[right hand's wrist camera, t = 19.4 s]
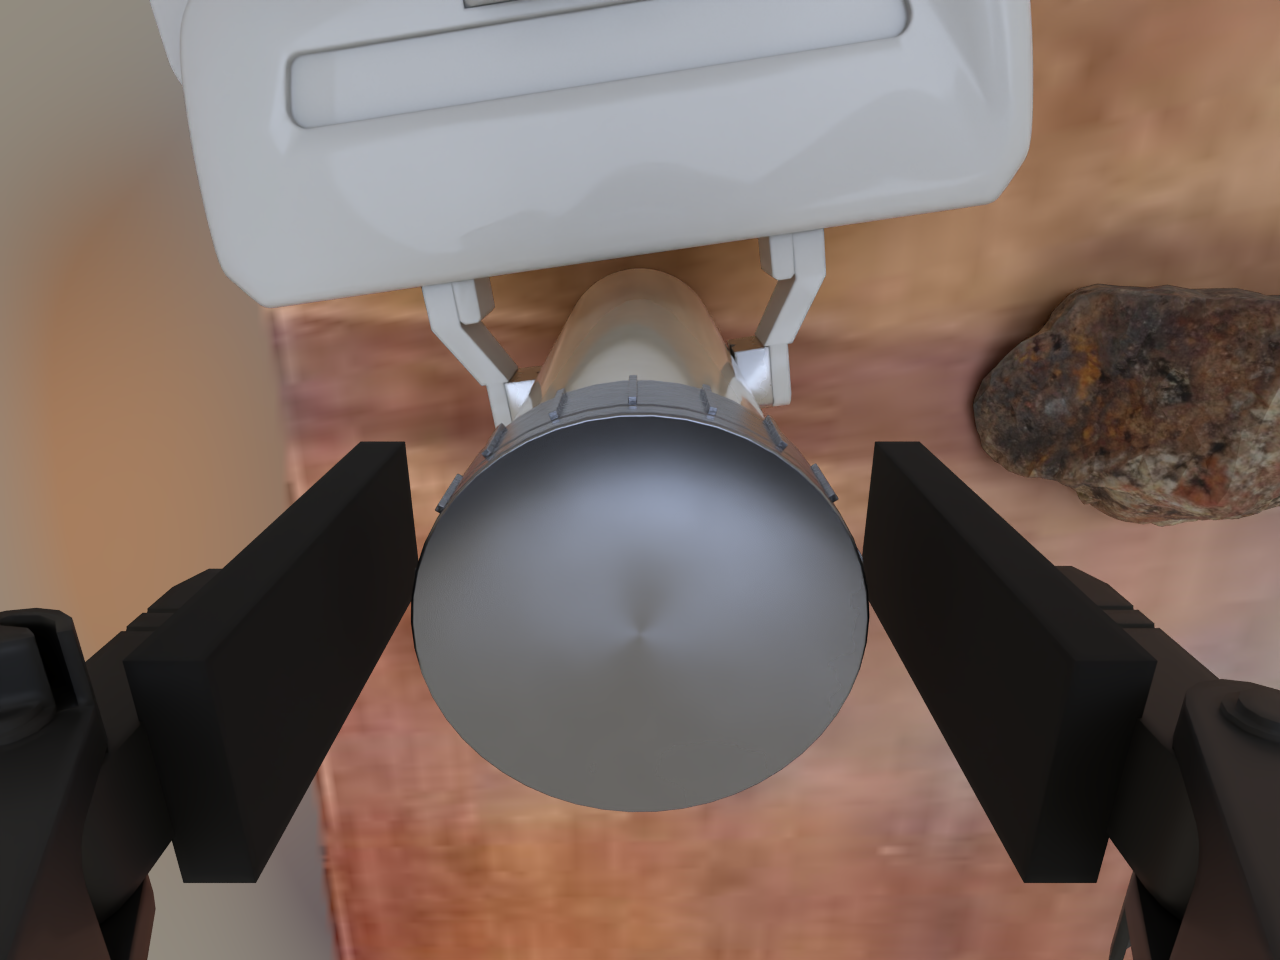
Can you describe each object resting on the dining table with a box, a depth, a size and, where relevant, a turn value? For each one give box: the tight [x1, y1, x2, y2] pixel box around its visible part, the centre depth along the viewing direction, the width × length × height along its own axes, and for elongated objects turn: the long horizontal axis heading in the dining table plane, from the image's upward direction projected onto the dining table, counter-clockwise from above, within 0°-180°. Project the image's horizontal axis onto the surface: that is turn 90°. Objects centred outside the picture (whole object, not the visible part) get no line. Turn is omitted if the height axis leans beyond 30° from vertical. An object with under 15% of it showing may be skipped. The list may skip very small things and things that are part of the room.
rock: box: [973, 284, 1280, 526], centre depth 25 cm, size 14×9×10 cm
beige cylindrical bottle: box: [513, 268, 765, 421], centre depth 20 cm, size 5×5×19 cm
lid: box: [411, 375, 869, 812], centre depth 11 cm, size 6×6×2 cm
